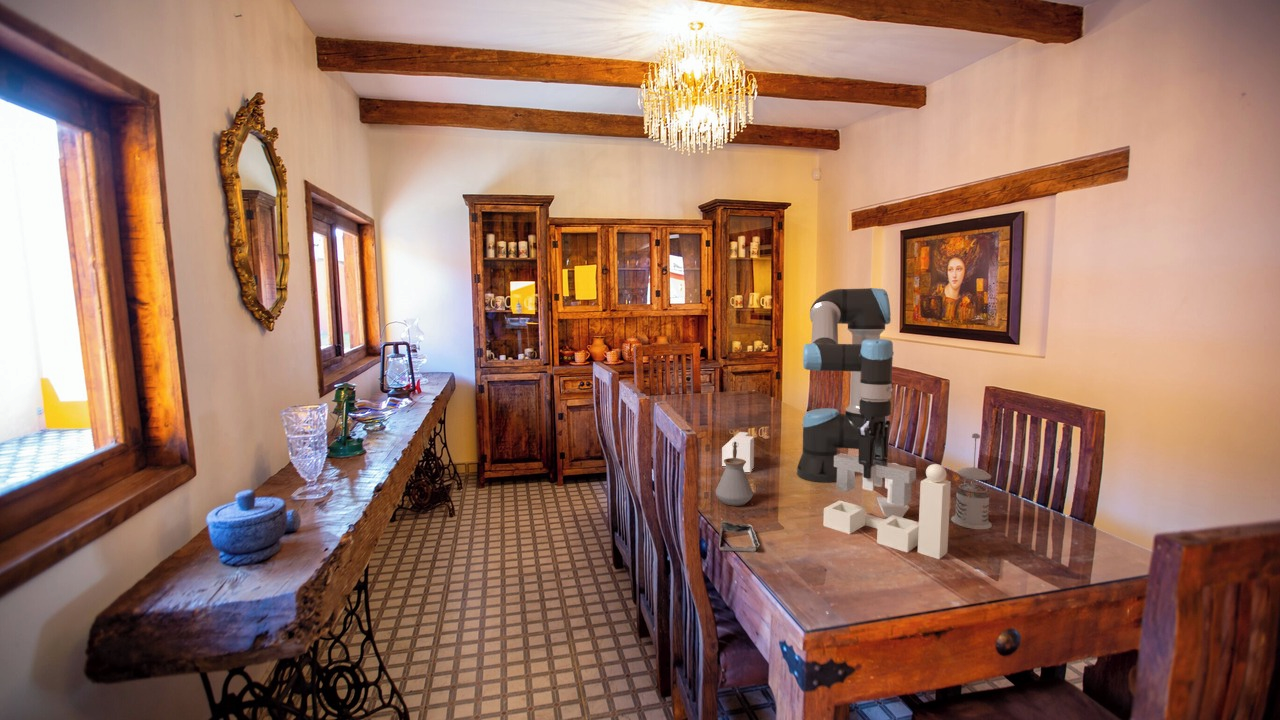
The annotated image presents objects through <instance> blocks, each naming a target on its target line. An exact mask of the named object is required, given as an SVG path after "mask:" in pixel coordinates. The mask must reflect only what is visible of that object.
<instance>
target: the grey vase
mask: <svg viewBox="0 0 1280 720" xmlns="http://www.w3.org/2000/svg"><path fill="white" fill-rule="evenodd" d="M732 444H733V443H732ZM732 446H733V445H732ZM738 446H739V444H738ZM738 446H736V442H734V446H733V447H734V449H733V458H728V459H725V460H724V463H725V464H726V467H724V471H723V474H722V475H721V478H720V480H719V482H718V485H717V487H716V489H715V492H714V493H715V495H716V497H717V498H718V500H720V501H721V503H723V504H725V505H727V506H732V507H733V506H734V507H736V506H737V507H738V506H740V507H741V506H744V505H746V504H747V503H748V502H749V501H751V499H752V498H753V496H754V491H753V489H752V487H751V484H750V481H749V479H748V477H747V475H746V474H747V473H745V472H744V470H743V466H744V465H745V463H746V461H745V460H743V459H739V458H736V455H737V449H736V448H737V447H738Z"/></svg>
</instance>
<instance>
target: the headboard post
mask: <svg viewBox="0 0 1280 720" xmlns="http://www.w3.org/2000/svg"><path fill="white" fill-rule="evenodd" d="M925 475H926V478H924V479H922V480H921V481H920V486H919V487H920V488H919V489H920V490H919V511H918V514H919V515H918V521H915V520H912V519H909V518H904V517H898V516H894V515H892V516H890V517H886V519H885V518H881V517H878V516H875V515H871V514H867V513H866V509H867V508H866V507H865V506H861V505H858V504H855V503H850V502H846V501H842V500H838V501H836V502H834V503H832V504H830V505H828V506H826V507H824V508H823V524H822V525H823V526H824V527H825V528H829V529H832V530H835V531H838V532H841V533H844V534H848V535H851V534H852V533H854V532H855V531H857V530H859V529H861V528H862V527H865V526H867V527H870V528H874V529H877V533H876V543H877V544H879V545H882V546H885V547H888V548H891V549H895V550H898V551H901V552H904V553H909V552H910V551H912V550H913V549H914V548H916V547H917V553H918V554H921V555H924V556H927V557H930V558H932V559H937V560H941V559H942V558H943V557H944V556H946V555H947V553H948V545H949V524H950V507H951V506H950V504H951V503H950V502H951V485H952V484H951V483H952V481H950V480H946V478H947V470H946V468H945V467H944V466H943V465H940V464H937V463H934V464H933V463H932V464H930V465H928V466H927V468H926V469H925Z"/></svg>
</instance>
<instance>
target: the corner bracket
mask: <svg viewBox="0 0 1280 720" xmlns="http://www.w3.org/2000/svg"><path fill="white" fill-rule="evenodd" d="M734 442H736V446H738V444H739V446H738V447H737V448H736V449H737V455H736V458H739V459H743V460H745V461H746V463H745V465H744V466H743V470H744V472H750V473H752V472H753V470H754V469H753V468H754V465H755V453H754V452H755V437H754V436H749V432H746V431H739V432H738V433H736V434H735V435H734V436H733V437H732V438H731V439H730V440H729V441H727V443H724V444H725V445H723V446H722V448H721V467H722V466H726V464H725V463H724V460H725V459H728V458H733V449H734V447H733V446H734ZM732 443H733V444H732ZM732 445H733V446H732ZM752 469H753V470H752Z"/></svg>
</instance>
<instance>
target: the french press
mask: <svg viewBox="0 0 1280 720" xmlns="http://www.w3.org/2000/svg"><path fill="white" fill-rule="evenodd" d="M980 437H981V435H980V434H979V433H972V436H971V438H973V439H974V456H973V458H974V459H973V467H963V468H960V469H958V470H957V471H956V474H957V475H958V476H961V477H963V478H964V483H961V484H958V489H957V490H956V498H955V499H956V500H955V515H953V516H952V517H951V519H950V520H951V521H952V522H953V524H955V525H958V526H961V527H963V528H967V529H971V530H972V529H973V530H989V529H991V528H992V526H993V525H992V523H991V522H990V521H989V509H990V494H989V493H988V492H989V489H988V488H987V487H984V486H982V485H979V484H975V480H976V481H988V480H990V479H991V478H992V475H991V474H990V473H988V472H987V471H986V470H984V469H981V468H979V467H976V450H977V439H981V438H980ZM967 480H971V481H970V483H966V481H967ZM969 494H970V495H971V497H969Z"/></svg>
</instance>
